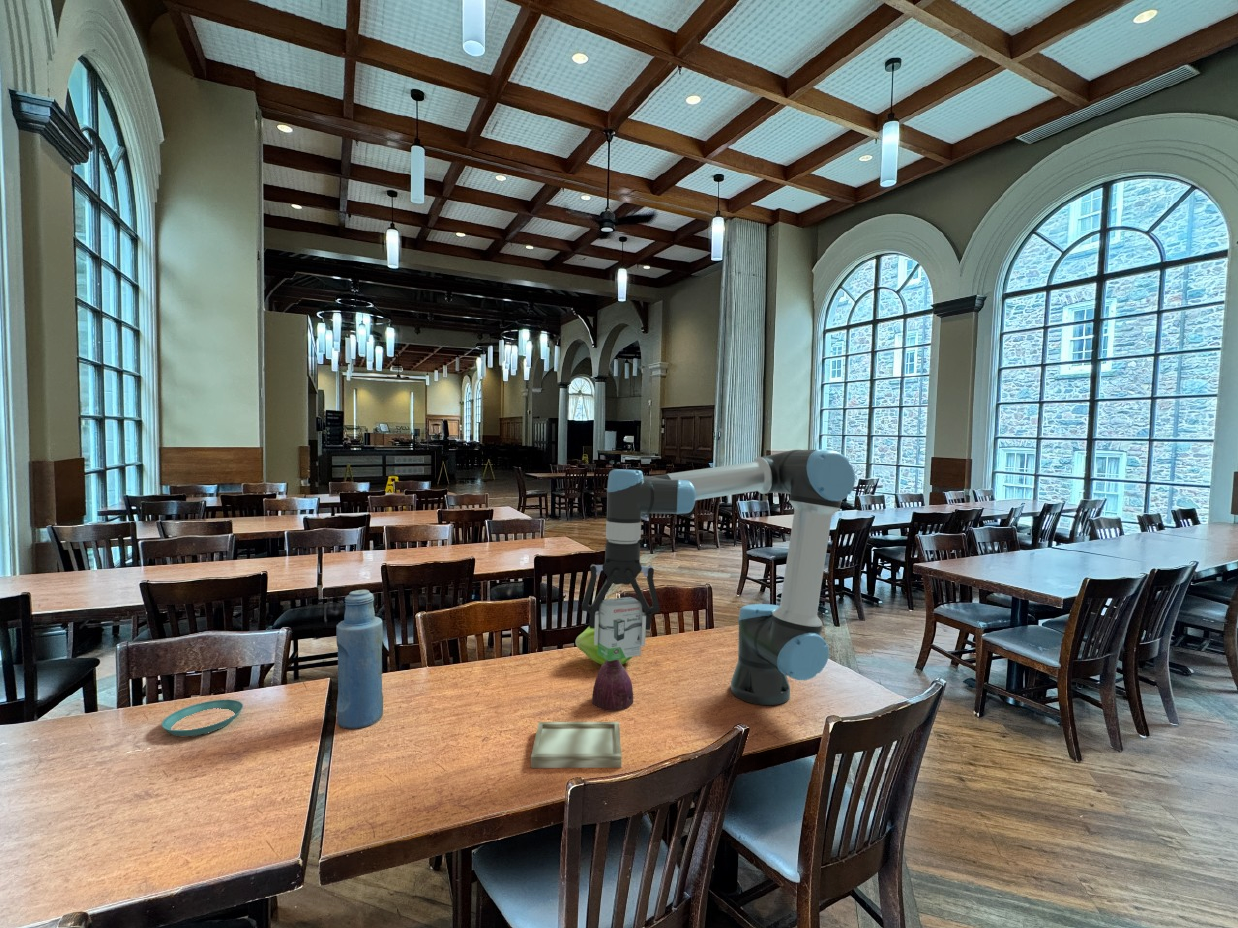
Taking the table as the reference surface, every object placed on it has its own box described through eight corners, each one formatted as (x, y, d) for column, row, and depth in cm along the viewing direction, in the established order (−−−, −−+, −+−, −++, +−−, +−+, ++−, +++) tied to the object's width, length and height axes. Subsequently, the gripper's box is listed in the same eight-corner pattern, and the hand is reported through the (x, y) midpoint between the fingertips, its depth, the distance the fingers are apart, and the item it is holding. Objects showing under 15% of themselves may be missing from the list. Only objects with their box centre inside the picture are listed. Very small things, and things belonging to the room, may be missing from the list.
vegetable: (627, 724, 134) (633, 673, 130) (586, 714, 136) (591, 663, 132) (636, 696, 144) (642, 647, 139) (598, 687, 146) (602, 638, 141)
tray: (618, 731, 124) (618, 721, 124) (621, 767, 110) (621, 756, 110) (538, 731, 124) (538, 721, 124) (530, 767, 110) (530, 756, 110)
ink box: (608, 662, 115) (609, 606, 115) (596, 654, 120) (597, 600, 119) (642, 655, 120) (643, 601, 120) (629, 647, 124) (631, 595, 124)
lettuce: (566, 662, 165) (569, 615, 168) (627, 664, 172) (629, 618, 176) (583, 668, 152) (586, 616, 155) (648, 669, 159) (650, 620, 163)
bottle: (390, 719, 129) (390, 591, 128) (346, 734, 121) (346, 599, 121) (372, 705, 135) (373, 584, 134) (329, 719, 128) (330, 591, 127)
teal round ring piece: (223, 704, 135) (223, 693, 135) (256, 720, 128) (256, 708, 128) (149, 730, 122) (149, 718, 122) (180, 749, 115) (180, 737, 115)
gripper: (671, 539, 123) (668, 638, 124) (572, 536, 123) (569, 636, 123) (676, 545, 116) (672, 650, 116) (570, 541, 115) (567, 648, 116)
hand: (619, 643), depth 120 cm, fingers closed on ink box, 9 cm apart
